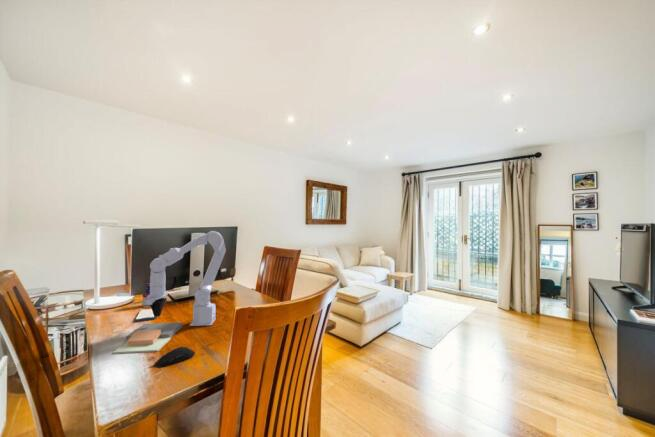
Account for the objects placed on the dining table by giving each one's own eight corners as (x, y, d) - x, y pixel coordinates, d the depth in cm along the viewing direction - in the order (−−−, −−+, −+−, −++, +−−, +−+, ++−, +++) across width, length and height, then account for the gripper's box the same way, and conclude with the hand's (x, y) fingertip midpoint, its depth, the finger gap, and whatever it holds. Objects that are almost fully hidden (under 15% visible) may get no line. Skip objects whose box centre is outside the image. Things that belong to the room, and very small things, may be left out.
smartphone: (139, 313, 132) (133, 323, 118) (139, 310, 132) (134, 319, 118) (159, 310, 136) (156, 320, 122) (159, 307, 136) (156, 316, 122)
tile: (161, 333, 102) (160, 329, 102) (153, 344, 97) (152, 339, 96) (137, 334, 101) (136, 330, 101) (127, 345, 95) (126, 341, 95)
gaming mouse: (143, 366, 84) (143, 354, 84) (191, 351, 94) (192, 340, 94) (146, 374, 79) (146, 362, 79) (196, 358, 89) (197, 346, 89)
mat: (170, 338, 102) (170, 337, 102) (157, 351, 92) (157, 349, 92) (130, 340, 100) (130, 339, 100) (112, 353, 90) (112, 352, 90)
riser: (182, 326, 114) (182, 322, 114) (169, 338, 102) (169, 334, 102) (144, 328, 112) (144, 323, 112) (126, 340, 100) (126, 335, 100)
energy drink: (144, 308, 138) (145, 286, 138) (140, 306, 141) (141, 284, 141) (155, 305, 142) (156, 284, 142) (151, 303, 145) (151, 282, 145)
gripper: (156, 281, 117) (156, 310, 117) (138, 290, 103) (137, 323, 103) (172, 281, 118) (172, 309, 118) (156, 289, 104) (156, 322, 104)
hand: (157, 316), depth 110 cm, fingers closed
